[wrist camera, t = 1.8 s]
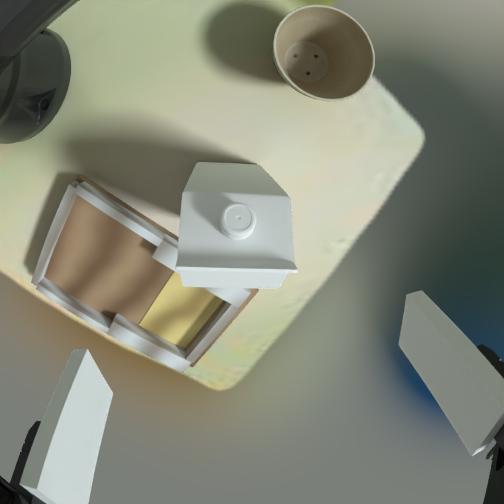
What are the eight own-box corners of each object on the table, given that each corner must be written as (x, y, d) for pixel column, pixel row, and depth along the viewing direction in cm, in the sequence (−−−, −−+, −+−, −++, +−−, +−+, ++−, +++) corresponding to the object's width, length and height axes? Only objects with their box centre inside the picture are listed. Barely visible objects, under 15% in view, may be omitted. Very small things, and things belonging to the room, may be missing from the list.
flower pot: (276, 112, 32) (291, 111, 26) (250, 32, 28) (259, 12, 21) (356, 95, 32) (386, 92, 25) (333, 19, 28) (358, 1, 21)
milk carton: (255, 224, 37) (289, 320, 20) (194, 222, 36) (177, 319, 19) (260, 164, 34) (306, 213, 17) (196, 161, 33) (174, 207, 16)
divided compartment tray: (40, 273, 36) (30, 285, 33) (82, 174, 32) (70, 180, 29) (192, 361, 45) (191, 376, 42) (257, 286, 40) (260, 299, 38)
